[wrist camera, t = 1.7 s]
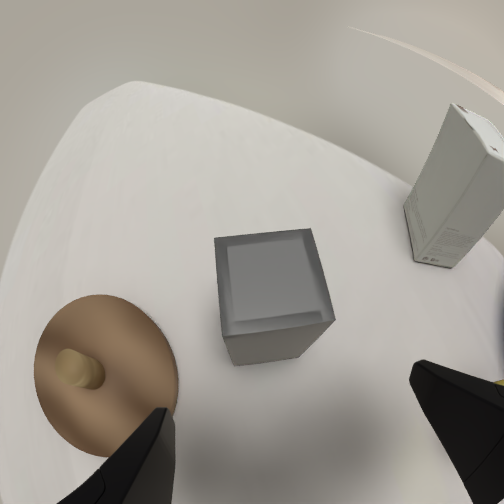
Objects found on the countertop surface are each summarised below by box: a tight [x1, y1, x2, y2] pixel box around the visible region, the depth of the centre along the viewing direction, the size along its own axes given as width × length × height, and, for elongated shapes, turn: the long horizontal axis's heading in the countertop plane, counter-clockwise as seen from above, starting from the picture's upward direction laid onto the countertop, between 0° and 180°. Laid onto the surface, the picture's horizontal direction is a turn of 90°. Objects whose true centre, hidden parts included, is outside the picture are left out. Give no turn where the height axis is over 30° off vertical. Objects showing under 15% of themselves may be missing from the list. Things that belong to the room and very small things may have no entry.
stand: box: [34, 295, 178, 457], centre depth 16 cm, size 14×14×5 cm
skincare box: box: [404, 103, 504, 268], centre depth 20 cm, size 8×6×15 cm
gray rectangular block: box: [214, 228, 336, 366], centre depth 17 cm, size 5×5×10 cm
